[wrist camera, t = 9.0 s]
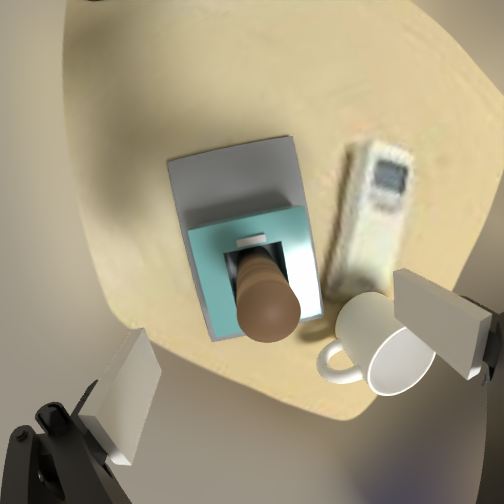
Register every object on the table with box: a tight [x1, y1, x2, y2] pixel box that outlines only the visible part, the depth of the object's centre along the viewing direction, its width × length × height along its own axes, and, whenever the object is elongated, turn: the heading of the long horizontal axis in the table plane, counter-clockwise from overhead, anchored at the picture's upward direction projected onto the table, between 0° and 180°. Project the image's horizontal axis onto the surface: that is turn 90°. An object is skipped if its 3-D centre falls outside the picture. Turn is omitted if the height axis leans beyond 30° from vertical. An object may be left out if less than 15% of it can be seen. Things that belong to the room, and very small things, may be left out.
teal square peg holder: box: [188, 205, 321, 337], centre depth 27 cm, size 10×10×6 cm
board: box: [167, 136, 324, 342], centre depth 29 cm, size 20×13×1 cm, turn 12°
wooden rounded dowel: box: [237, 246, 301, 343], centre depth 22 cm, size 4×4×14 cm
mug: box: [316, 292, 436, 396], centre depth 28 cm, size 12×8×10 cm
